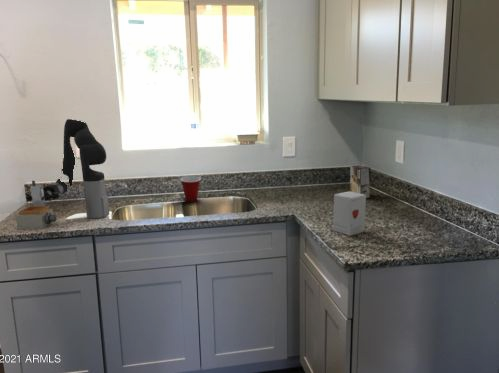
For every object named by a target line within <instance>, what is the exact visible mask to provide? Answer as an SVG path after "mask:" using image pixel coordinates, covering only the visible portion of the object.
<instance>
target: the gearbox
mask: <svg viewBox="0 0 499 373" xmlns="http://www.w3.org/2000/svg"><path fill="white" fill-rule="evenodd" d="M15 220H16V228H17V230H43V229H45V228H47V227H49V226H50V225H52V224H53V223H54V222H57V215H55V214H54V211H53V208H50V206H49V205H46V206H33V205H32V206H27V207H25V208H24V209H21V210H19V211H18V214H15Z"/></svg>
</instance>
